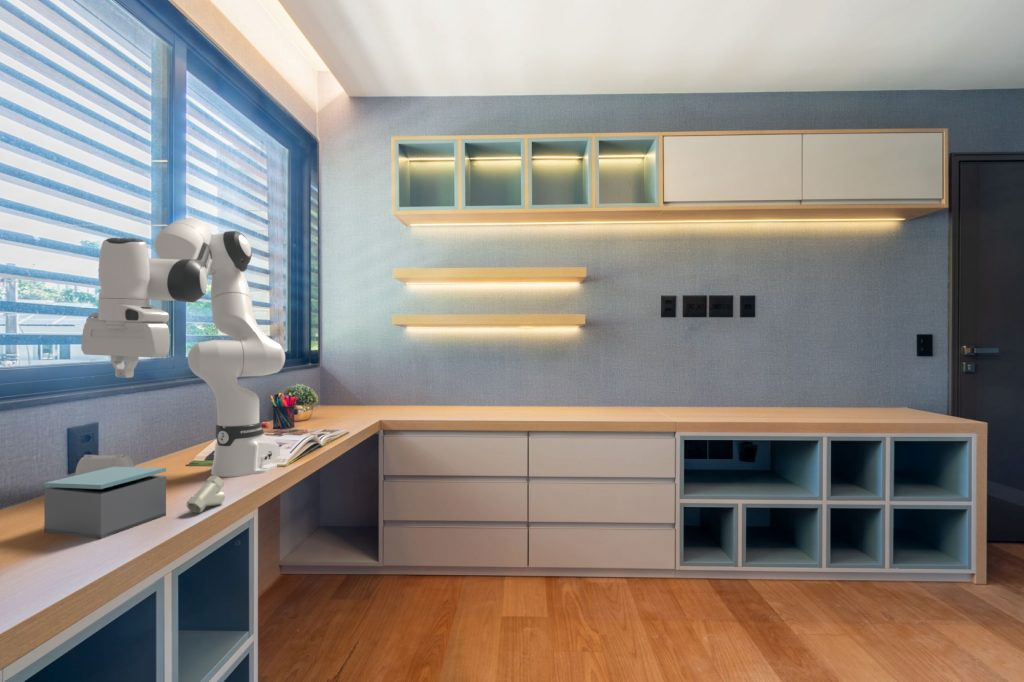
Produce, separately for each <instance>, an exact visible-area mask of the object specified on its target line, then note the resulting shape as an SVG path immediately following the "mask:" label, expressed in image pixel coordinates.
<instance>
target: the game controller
mask: <svg viewBox="0 0 1024 682" xmlns="http://www.w3.org/2000/svg"><path fill="white" fill-rule="evenodd" d="M79 459H80V460H79V461H78V462H77V465H76V467H75V473H74V476H76V475H80V474H85V473H89V472H93V471H97V470H102V469H106V468H110V467H135V463H134V462H133V460H132V458H131V457H130V456H129V455H127V454H124V453H115V454H113V455H112V454H111V455H110V454H108V455H107V454H103V455H102V454H100V455H99V454H98V455H97V454H84V455H83V456H82V457H81V458H79Z"/></svg>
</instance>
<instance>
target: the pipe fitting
mask: <svg viewBox="0 0 1024 682" xmlns="http://www.w3.org/2000/svg"><path fill="white" fill-rule="evenodd" d="M224 484H225V481H224V480H223V479H222V477H219V476H213V475H210V476H209V477H208V478H207V479H206V481H205V483H204V484H203V485H202V486H201V487H200V489H199V490H197V492H195V494H194V495H193V496H191V497H189V499H188V500H187V501H186V508H187V509H188V510H189V511H190V512H192V513H195V514H200V513H202V512H203V511H204V510H205V508H206V507H216V506H217V507H218V506H221V505H222V504H223V503H224V502H225V499H226V495H225V493H224V491H221V490H222V489H223V487H224Z"/></svg>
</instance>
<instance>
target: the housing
mask: <svg viewBox="0 0 1024 682" xmlns="http://www.w3.org/2000/svg"><path fill="white" fill-rule="evenodd" d="M43 503H44V505H43V506H44V515H43V516H44V519H43V520H44V522H43V523H44V526H43V528H44V533H48V534H55V535H64V536H73V537H79V538H80V537H82V538H88V539H96V540H103V539H106V538H109V537H111V536H113V535H116V534H119V533H122V532H124V531H127V530H130V529H133V528H137V527H138V526H142V525H143V524H147V523H149V522H152V521H155V520H158V519H160V518H163V517H166V516H167V476H166V475H159V474H155V475H151V476H148V477H144V478H140V479H136V480H133V481H129V482H125V483H122V484H118V485H114V486H111V487H107V488H103V489H86V488H59V487H44V502H43Z"/></svg>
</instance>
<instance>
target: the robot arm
mask: <svg viewBox="0 0 1024 682" xmlns="http://www.w3.org/2000/svg"><path fill="white" fill-rule="evenodd" d="M154 249H155V252H156V254H157V256H158V258H153V257H149V250H148V247H147V242H146V241H144V240H143V239H140V238H130V237H129V238H128V237H109V238H106V239H104V240H103V241H102V243H101V247H100V251H99V259H98V280H99V283H100V292H99V294H98V312H91V313H90V315H89V316H88V317H87V318H86V319H85V320H86V321H85V323H84V326H83V329H82V334H81V344H80V345H81V346H80V347H81V348H80V349H81V351H82V353H83V354H84V355H86V356H87V355H88V356H90V355H91V356H108V357H109V356H110V363H111V364H112V365H113V366H112V367H113V368H114V371H115V373H114V374H115V377H116V378H124V379H126V378H127V379H128V378H133V377H134V376H135V375H134V373H135V372H134V371H135V369H136V367H137V365H138V363H139V361H140V360H139V358H165V357H167V356H168V354H169V352H170V347H171V346H170V343H171V342H170V341H171V339H170V338H171V337H170V328H169V326H168V325H167V323H168V322H169V320H170V314H169V313H168V312H167V311H165V310H162V309H160V308H158V307H155V306H153V305H151V303H150V302H151V301H177V302H183V303H184V302H185V303H195V302H197V301H199V300H200V299H201V298H203V296H204V295H206V293H207V288H208V278H209V276H211V284H210V285H211V286H210V300H211V302H210V303H211V311H212V319H213V320H212V321H213V325H214V326H215V328H216V329H217V330H218V331H220V332H221V333H223V334H225V335H227V336H229V337H231V338H232V339H211V340H205V341H199V342H196V343H194V344H193V346H192V347H190V350H189V351H188V354H187V364H188V367H189V369H190V370H191V372H192V373H193V374H194V375H195V376H196V377H198V378H200V379H201V380H203V381H204V382H205V384H207V385H208V386H209V387H210V389H211V391H212V393H213V395H214V398H215V405H216V415H217V423H216V425H215V429H214V432H215V439H216V442H215V446H214V455H213V463H212V465H211V468H210V470H211V472H210V476H218V477H220V478H223V477H224V478H231V477H232V478H233V477H243V476H250V475H259V474H265V473H269V472H270V471H272V470H274V469H277V468H278V467H277V464H272V462H273V461H274V460H275V459H276V458H277V457H278V456H280V457H281V448H280V445H279V444H278V443H277V442H276V441H274V440H273V439H271V438H270V437H269V436H267V434H265V430H268V429H269V428H270V427H271V426H270V425H271V423H270V422H268V421H267V422H265V421H263V422H260V397H259V395H257V393H255V392H254V391H252V390H250V389H248V388H246V387H243V386H240V384H239V383H238V382H239V381H238V378H241V377H242V378H243V377H264V376H268V375H273V374H277V373H279V372H280V371H281V370H282V369H283V367H284V366H285V362H286V353H285V351H284V348H283V346H282V345H281V344H280V343H279V342H277V341H275V340H273V339H272V338H271V337H269V336H268V335H267V334H266V333H265V332H264V331H263V330H262V329H261V327H260V326H259V324H258V322H257V319H256V317H255V316H256V315H255V313H254V306H253V300H252V294H251V290H250V286H249V283H248V281H247V278H246V276H245V274H244V273H243V272H246V270H247V269H248V265H249V264H250V262H251V260H252V254H253V253H252V251H253V250H252V247H251V244H250V242H249V240H248V239H247V237H246V236H245V235H244V234H243V233H241V232H240V231H237V230H233V231H232V230H229V231H224V232H222V233H216V234H211V230H210V228H209V226H208V225H206V224H205V223H204V221H201V220H200V219H197V218H193V217H186V218H180V219H178V220H175V221H173V222H171V223H170V224H168V225H166V226H165V227H164V228H163V229H161V230H160V231H159V232H158V234H157V235H156V237H155V239H154ZM264 429H265V430H264ZM276 467H277V468H276Z"/></svg>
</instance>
